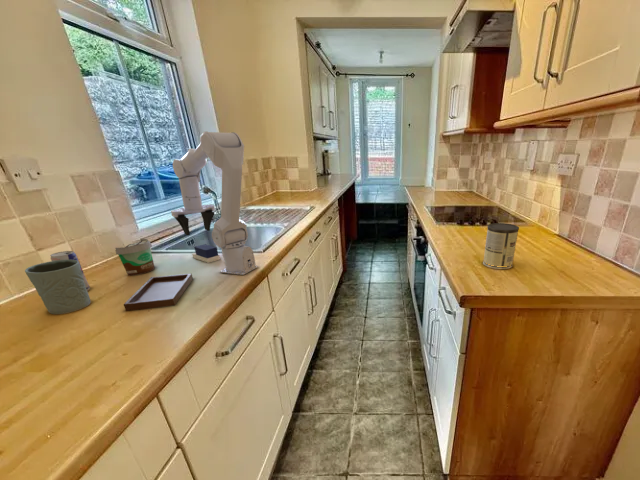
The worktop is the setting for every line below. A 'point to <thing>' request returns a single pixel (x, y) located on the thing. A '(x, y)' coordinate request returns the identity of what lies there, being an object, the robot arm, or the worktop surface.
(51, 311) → the grey plant pot
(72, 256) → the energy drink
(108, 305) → the worktop surface
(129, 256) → the food container
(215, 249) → the board eraser
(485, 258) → the coffee can
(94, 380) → the worktop surface
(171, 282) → the tray
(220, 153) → the robot arm
